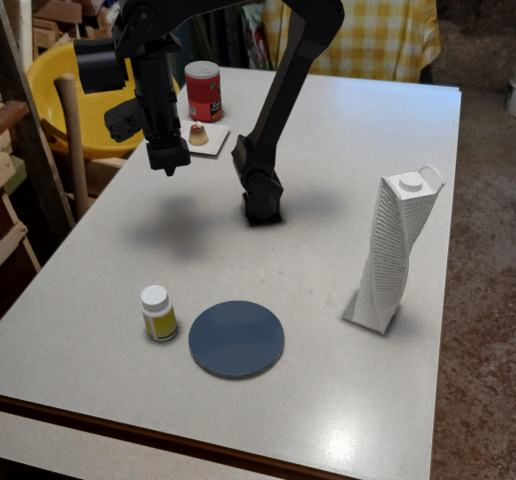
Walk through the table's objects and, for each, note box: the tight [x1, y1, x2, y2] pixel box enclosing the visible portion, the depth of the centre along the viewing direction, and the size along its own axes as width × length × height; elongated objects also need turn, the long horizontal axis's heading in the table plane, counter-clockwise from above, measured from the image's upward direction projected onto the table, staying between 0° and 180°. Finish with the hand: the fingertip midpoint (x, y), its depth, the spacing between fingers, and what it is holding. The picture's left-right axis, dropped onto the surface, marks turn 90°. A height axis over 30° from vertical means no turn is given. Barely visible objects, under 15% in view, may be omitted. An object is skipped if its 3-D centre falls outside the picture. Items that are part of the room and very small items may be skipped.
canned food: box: [184, 60, 223, 124], centre depth 118 cm, size 8×8×11 cm
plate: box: [187, 299, 285, 379], centre depth 80 cm, size 15×15×1 cm
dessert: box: [180, 119, 231, 156], centre depth 114 cm, size 12×12×5 cm
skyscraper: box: [342, 163, 447, 336], centre depth 72 cm, size 8×8×28 cm
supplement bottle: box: [140, 284, 178, 342], centre depth 78 cm, size 5×5×8 cm
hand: (169, 175), depth 88 cm, fingers closed
